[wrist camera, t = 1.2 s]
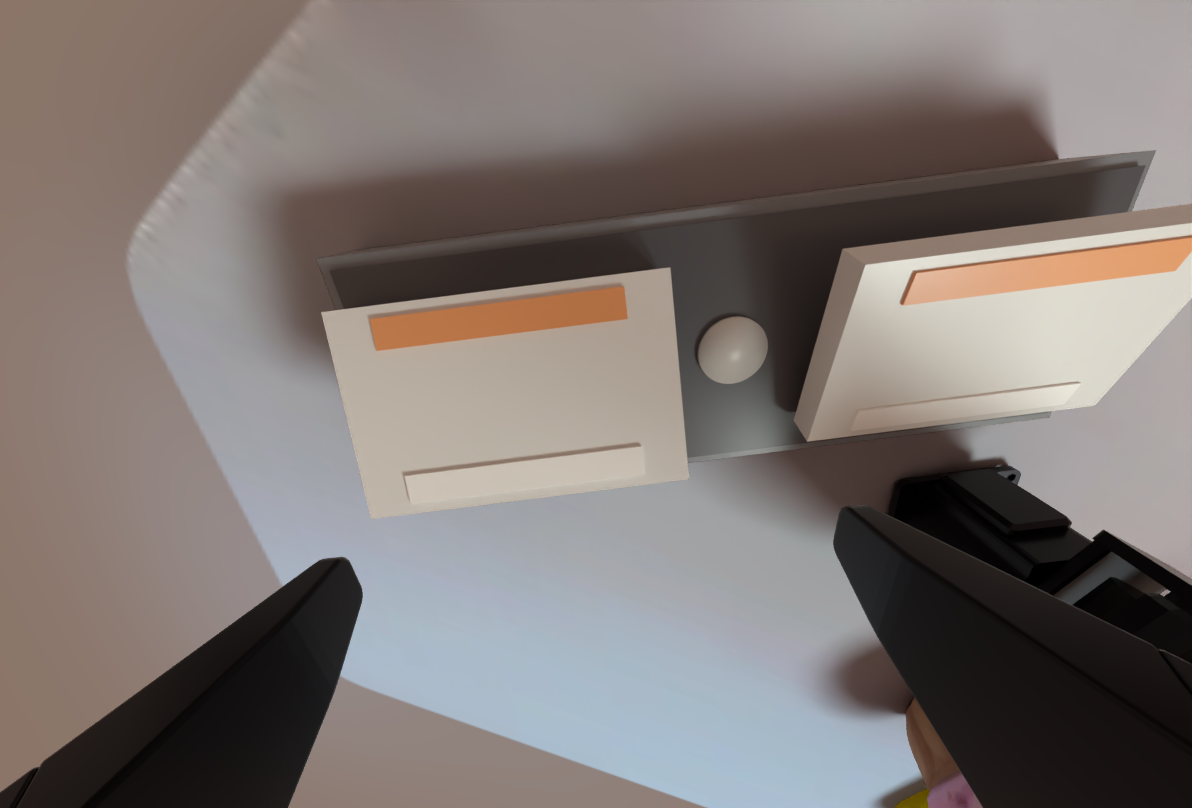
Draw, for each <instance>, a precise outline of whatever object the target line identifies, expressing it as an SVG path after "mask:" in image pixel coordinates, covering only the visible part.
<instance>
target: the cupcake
mask: <svg viewBox="0 0 1192 808" xmlns="http://www.w3.org/2000/svg"><path fill="white" fill-rule="evenodd" d="M906 729H907V737H908V741H909V744H910V747H911V750H912V753H913V756H914V758H915V760H916V762H917V764H918V767H919V770H920V772H921V774H922V777H923V779H924V782H925V784H926V786H927V788H928V790H929V792H930V793H929V795H928V798H927V801H928V806H929V808H983V807H982V806H981V804H980V802H979V801H978V799H977V798H976V796H975V794H974V793H973V791H972V789H971V788H970V786H969V785H968V783H967V781H966V780H965V778H964V777H963V775H962V773H961V772H960V770H959V768H958V767H957V765H956V764H955V762H954V760H953V759H952V757H951V755H950V754H949V752H948V751H947V749H946V747H945V746H944V744H943V743H942V741H941V739H940V738H939V736H938V734H937V733H936V731H935V730H934V728H933V726H932V725H931V723H930V722H929V720H928V718H927V717H926V715H925V713H924V712H923V710H922V709H921V707H920V705H919V704H918V702H917V700H916V699H915V697H914V698H913V700H912V702H911V704H910V706H909V707H908V709H907V712H906Z"/></svg>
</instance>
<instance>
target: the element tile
mask: <svg viewBox="0 0 1192 808" xmlns="http://www.w3.org/2000/svg"><path fill="white" fill-rule="evenodd" d="M929 793H930V792H929V790H928V788H927V789H925V790H923V791H921V792H919V793H917V794H915V795H913V796H911V797H909V798H907V799H905V800H903V801H901V802H900V803H899V804H897V805H896V806H895V808H929V806H928V801H927V798H928V795H929Z"/></svg>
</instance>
